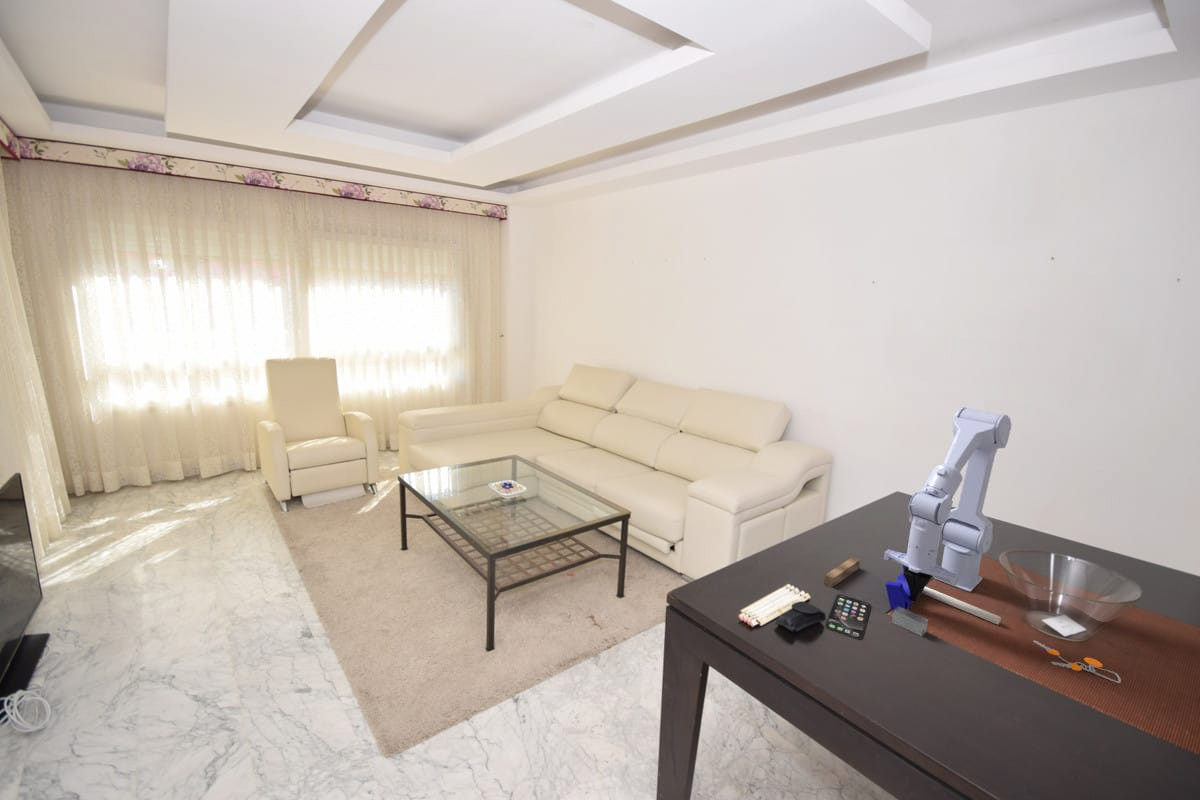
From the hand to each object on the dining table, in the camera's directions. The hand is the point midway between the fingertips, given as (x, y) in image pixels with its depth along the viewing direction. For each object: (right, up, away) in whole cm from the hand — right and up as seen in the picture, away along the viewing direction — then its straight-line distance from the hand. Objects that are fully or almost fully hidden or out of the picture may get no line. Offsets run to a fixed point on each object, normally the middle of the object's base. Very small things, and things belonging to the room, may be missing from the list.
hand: (914, 599), depth 119 cm
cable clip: (-1, -1, +3) cm, 3 cm away
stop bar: (-11, +1, +13) cm, 17 cm away
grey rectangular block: (-5, -3, -6) cm, 9 cm away
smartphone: (-16, -3, -3) cm, 17 cm away
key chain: (+22, -7, -16) cm, 28 cm away
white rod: (+9, -2, +2) cm, 9 cm away
